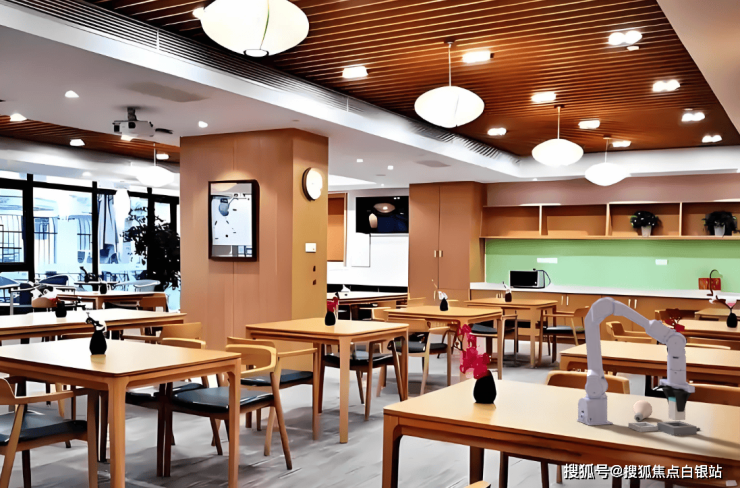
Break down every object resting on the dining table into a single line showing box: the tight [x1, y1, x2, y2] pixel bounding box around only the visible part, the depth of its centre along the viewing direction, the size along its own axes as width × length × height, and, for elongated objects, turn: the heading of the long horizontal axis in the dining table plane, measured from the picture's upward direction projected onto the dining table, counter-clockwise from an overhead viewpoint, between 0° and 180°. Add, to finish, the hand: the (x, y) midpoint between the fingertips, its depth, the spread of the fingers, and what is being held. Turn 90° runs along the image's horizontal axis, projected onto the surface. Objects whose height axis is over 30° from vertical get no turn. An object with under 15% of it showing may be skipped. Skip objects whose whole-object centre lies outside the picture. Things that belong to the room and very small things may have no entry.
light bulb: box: [632, 399, 653, 422], centre depth 247 cm, size 7×7×11 cm
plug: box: [668, 397, 686, 421], centre depth 229 cm, size 4×3×7 cm
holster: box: [627, 421, 659, 433], centre depth 232 cm, size 7×6×2 cm
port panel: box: [656, 420, 701, 436], centre depth 229 cm, size 14×8×2 cm, turn 105°
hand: (676, 410), depth 229 cm, fingers closed on plug, 3 cm apart
